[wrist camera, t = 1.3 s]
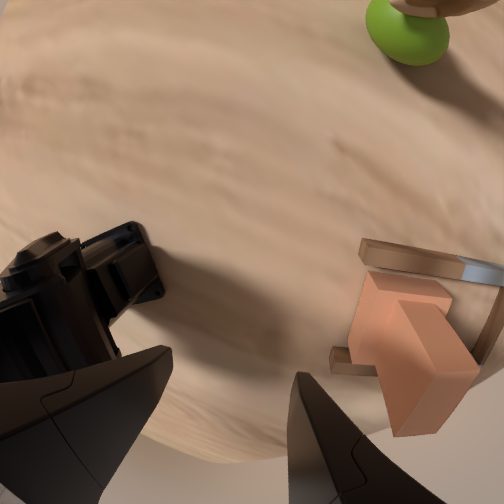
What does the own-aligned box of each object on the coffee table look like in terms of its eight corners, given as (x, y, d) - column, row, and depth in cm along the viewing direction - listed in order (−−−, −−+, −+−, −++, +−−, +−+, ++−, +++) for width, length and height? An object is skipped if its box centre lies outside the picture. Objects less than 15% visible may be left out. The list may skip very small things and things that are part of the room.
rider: (347, 339, 21) (365, 442, 12) (367, 270, 19) (414, 363, 10) (411, 344, 21) (450, 435, 11) (436, 280, 18) (502, 360, 9)
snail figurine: (449, 72, 13) (558, 29, 2) (375, 78, 15) (464, 0, 4) (421, 10, 12) (497, -65, 1) (346, 12, 13) (385, -99, 2)
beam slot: (329, 357, 22) (330, 373, 20) (362, 237, 19) (368, 247, 17) (469, 362, 21) (477, 374, 19) (511, 267, 17) (523, 275, 15)
